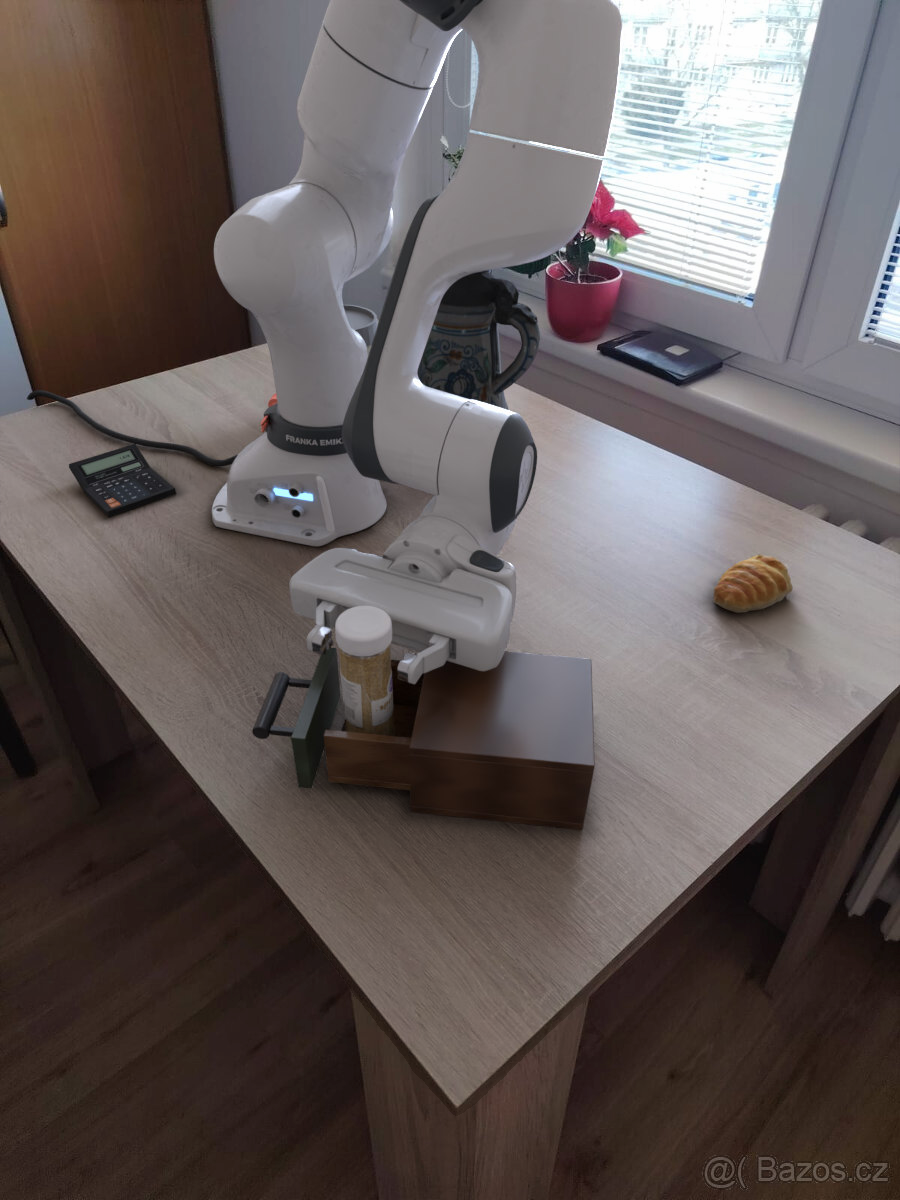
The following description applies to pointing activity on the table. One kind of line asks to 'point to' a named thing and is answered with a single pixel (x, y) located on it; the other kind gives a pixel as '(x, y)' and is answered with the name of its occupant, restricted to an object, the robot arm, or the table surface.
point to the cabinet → (505, 741)
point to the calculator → (120, 480)
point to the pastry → (753, 584)
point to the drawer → (345, 751)
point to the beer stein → (477, 340)
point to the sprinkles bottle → (366, 669)
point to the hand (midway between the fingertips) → (358, 661)
